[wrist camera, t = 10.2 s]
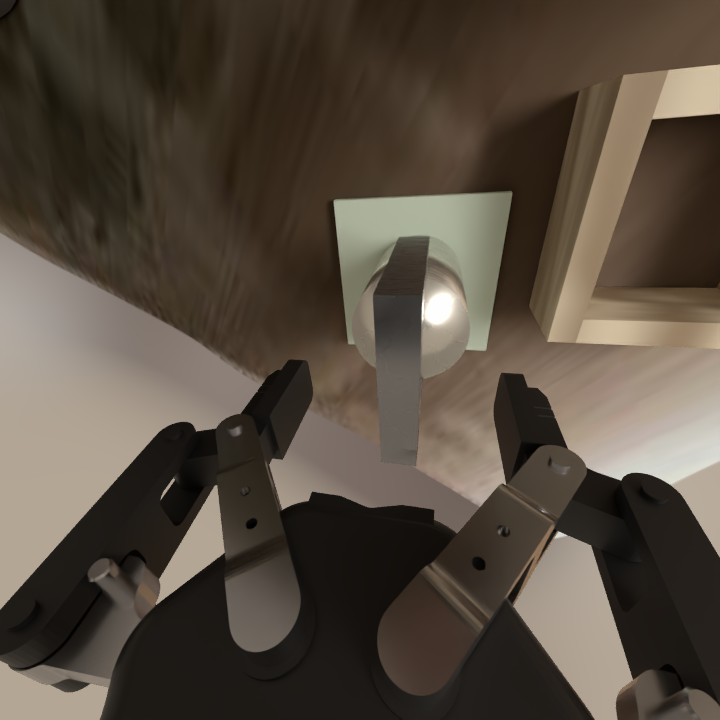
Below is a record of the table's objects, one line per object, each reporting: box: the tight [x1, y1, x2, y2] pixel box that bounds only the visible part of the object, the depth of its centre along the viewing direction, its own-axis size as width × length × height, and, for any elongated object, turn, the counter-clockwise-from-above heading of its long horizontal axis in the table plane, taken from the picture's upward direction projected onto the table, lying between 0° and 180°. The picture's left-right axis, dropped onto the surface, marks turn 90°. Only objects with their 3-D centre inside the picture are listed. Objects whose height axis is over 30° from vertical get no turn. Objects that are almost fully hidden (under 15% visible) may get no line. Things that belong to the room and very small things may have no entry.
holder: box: [529, 65, 720, 349], centre depth 17 cm, size 12×12×5 cm
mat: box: [334, 191, 513, 351], centre depth 24 cm, size 11×11×1 cm
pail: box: [352, 235, 470, 466], centre depth 18 cm, size 6×8×13 cm
